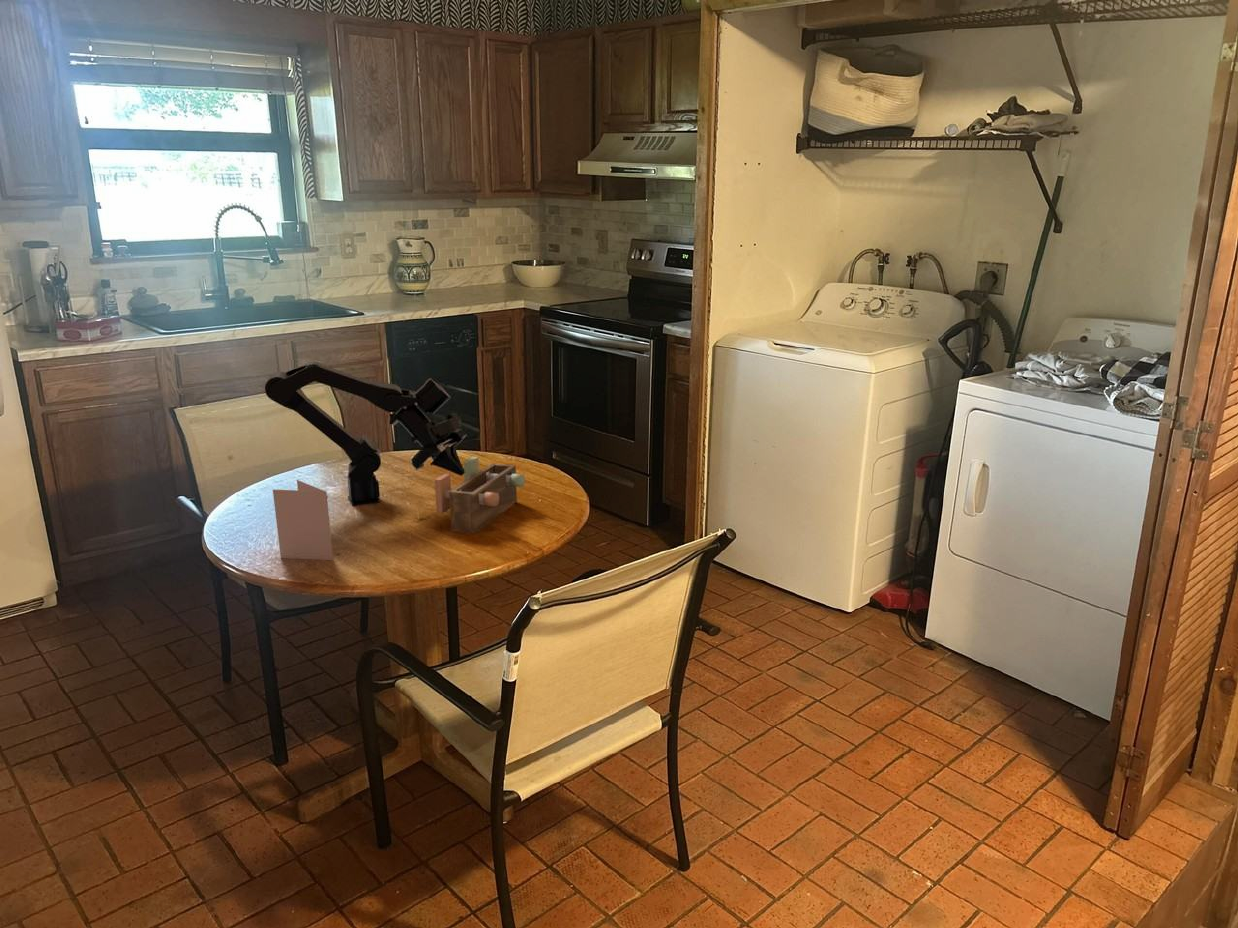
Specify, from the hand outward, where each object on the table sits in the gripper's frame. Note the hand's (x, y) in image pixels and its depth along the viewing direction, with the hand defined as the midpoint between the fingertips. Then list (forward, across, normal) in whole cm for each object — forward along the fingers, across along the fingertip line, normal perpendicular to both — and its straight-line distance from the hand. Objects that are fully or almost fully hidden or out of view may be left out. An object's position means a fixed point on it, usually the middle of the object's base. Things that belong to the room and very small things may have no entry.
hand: (463, 474), depth 222 cm
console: (+11, -7, -1) cm, 14 cm away
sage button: (+9, 0, -3) cm, 10 cm away
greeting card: (-6, -41, +16) cm, 44 cm away
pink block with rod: (+9, -14, -3) cm, 17 cm away
